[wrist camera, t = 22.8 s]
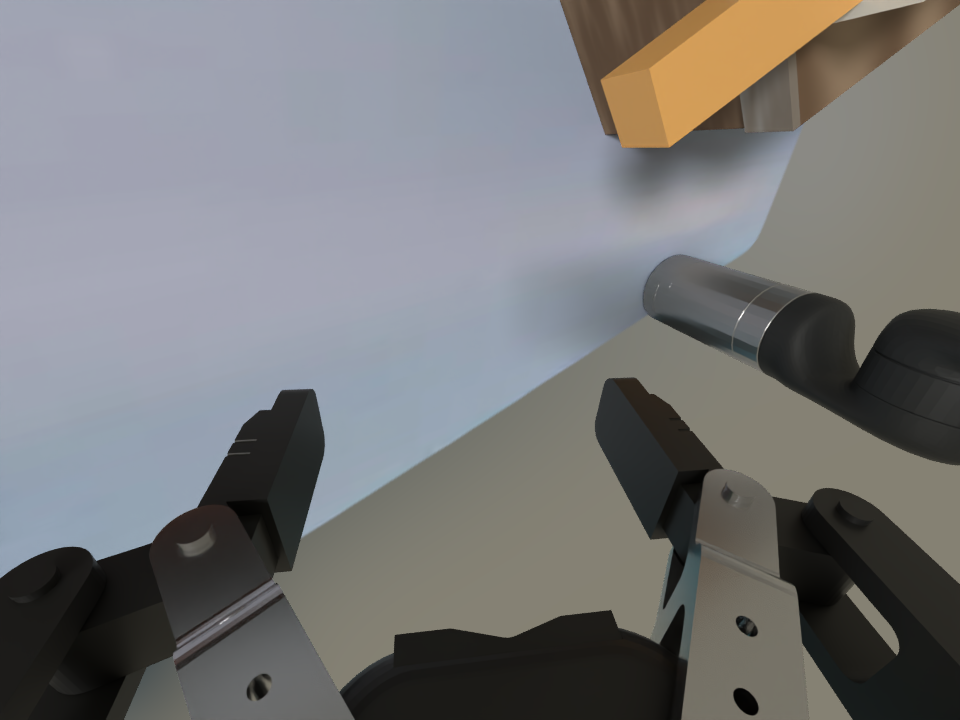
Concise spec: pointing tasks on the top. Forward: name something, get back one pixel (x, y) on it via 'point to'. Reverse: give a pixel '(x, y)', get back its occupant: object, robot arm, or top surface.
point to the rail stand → (778, 94)
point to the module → (714, 61)
